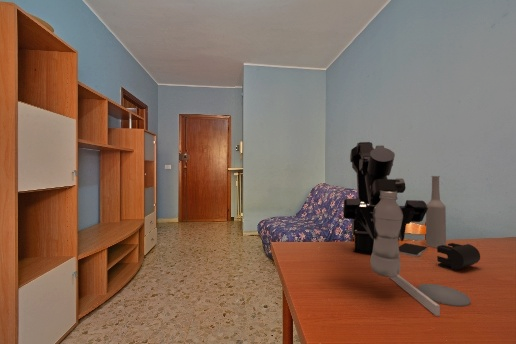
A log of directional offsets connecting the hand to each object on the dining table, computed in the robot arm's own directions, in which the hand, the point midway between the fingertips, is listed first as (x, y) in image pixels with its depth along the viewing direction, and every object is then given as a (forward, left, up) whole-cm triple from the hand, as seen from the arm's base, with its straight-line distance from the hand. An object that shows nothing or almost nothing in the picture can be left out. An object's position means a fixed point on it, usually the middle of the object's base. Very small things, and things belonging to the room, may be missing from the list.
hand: (387, 239), depth 57 cm
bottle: (+10, +57, -13) cm, 60 cm away
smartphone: (+3, +45, -14) cm, 47 cm away
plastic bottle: (-1, +1, -9) cm, 9 cm away
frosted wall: (+4, +4, -13) cm, 15 cm away
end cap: (+15, +33, -14) cm, 39 cm away
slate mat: (+10, +8, -13) cm, 19 cm away
